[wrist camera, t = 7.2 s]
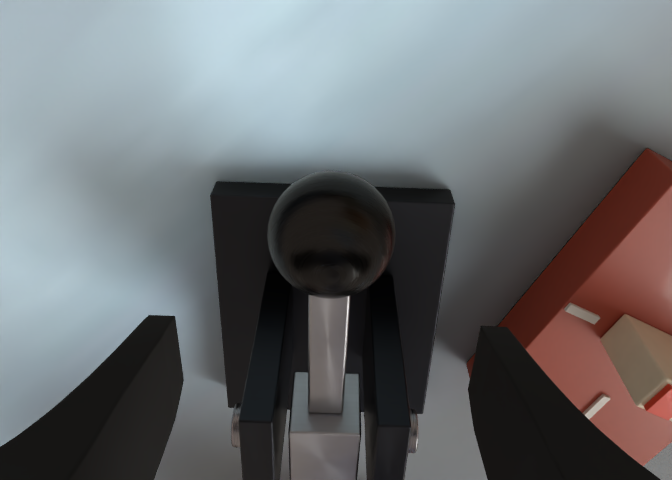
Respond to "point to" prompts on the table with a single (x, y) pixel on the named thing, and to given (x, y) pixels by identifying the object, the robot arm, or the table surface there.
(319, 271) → the lever
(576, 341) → the dial panel
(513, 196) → the table surface
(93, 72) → the table surface
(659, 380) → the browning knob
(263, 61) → the table surface
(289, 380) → the black lever mount
